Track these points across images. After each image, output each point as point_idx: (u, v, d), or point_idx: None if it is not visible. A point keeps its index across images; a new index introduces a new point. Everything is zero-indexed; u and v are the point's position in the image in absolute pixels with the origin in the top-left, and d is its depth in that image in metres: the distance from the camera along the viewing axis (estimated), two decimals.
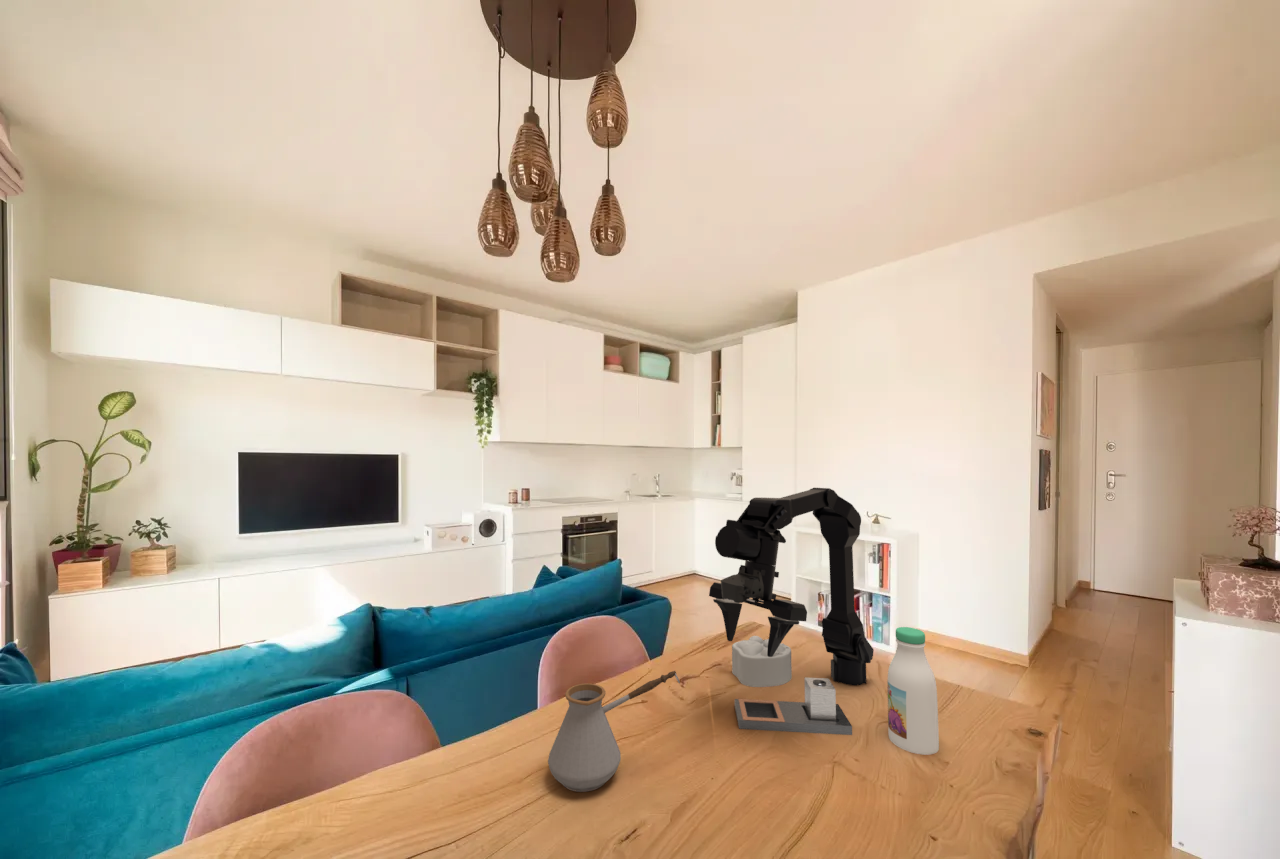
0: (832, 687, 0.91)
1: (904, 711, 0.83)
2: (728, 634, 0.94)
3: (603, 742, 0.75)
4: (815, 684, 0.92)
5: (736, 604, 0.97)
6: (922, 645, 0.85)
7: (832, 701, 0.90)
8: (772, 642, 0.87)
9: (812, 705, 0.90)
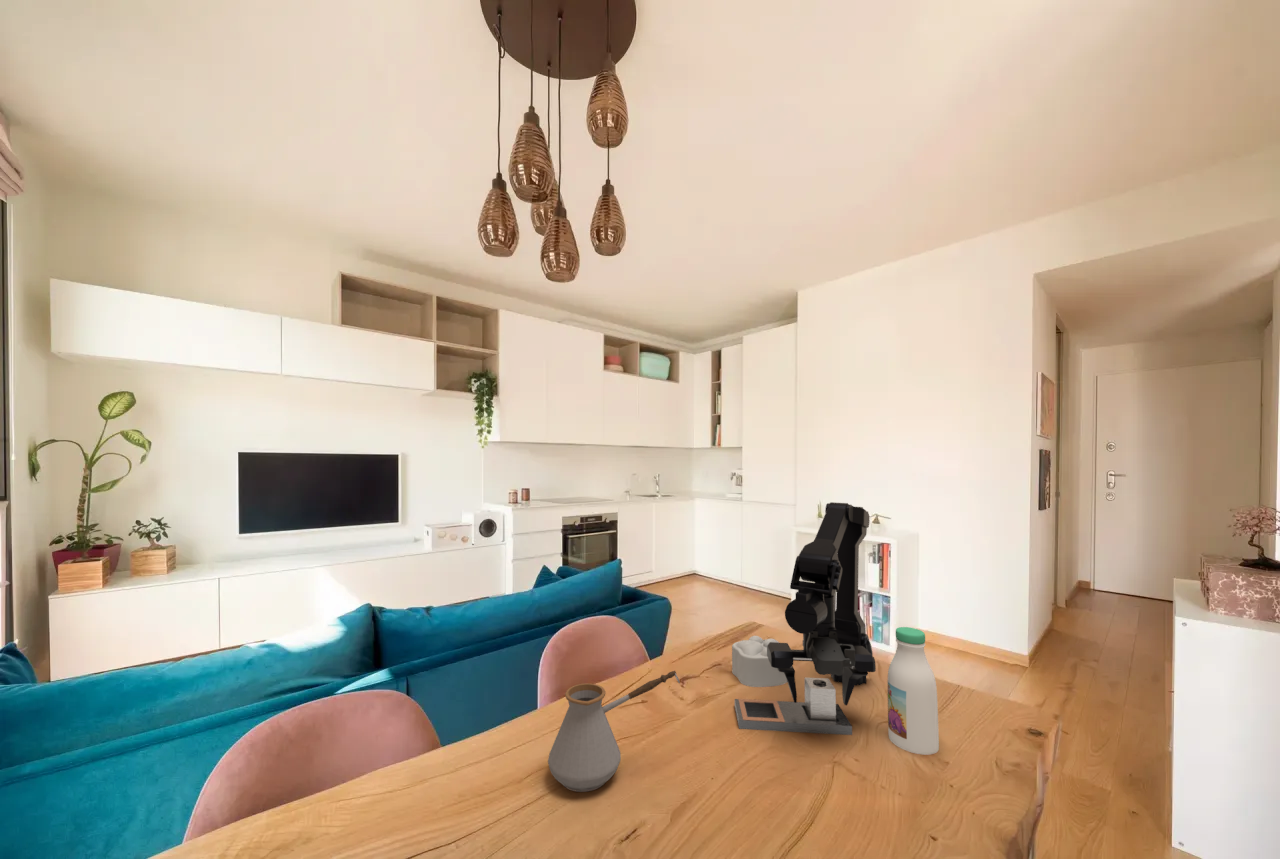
0: (832, 687, 0.91)
1: (904, 711, 0.83)
2: (795, 697, 0.92)
3: (603, 742, 0.75)
4: (815, 684, 0.92)
5: None
6: (922, 645, 0.85)
7: (832, 701, 0.90)
8: (851, 692, 0.91)
9: (812, 705, 0.90)
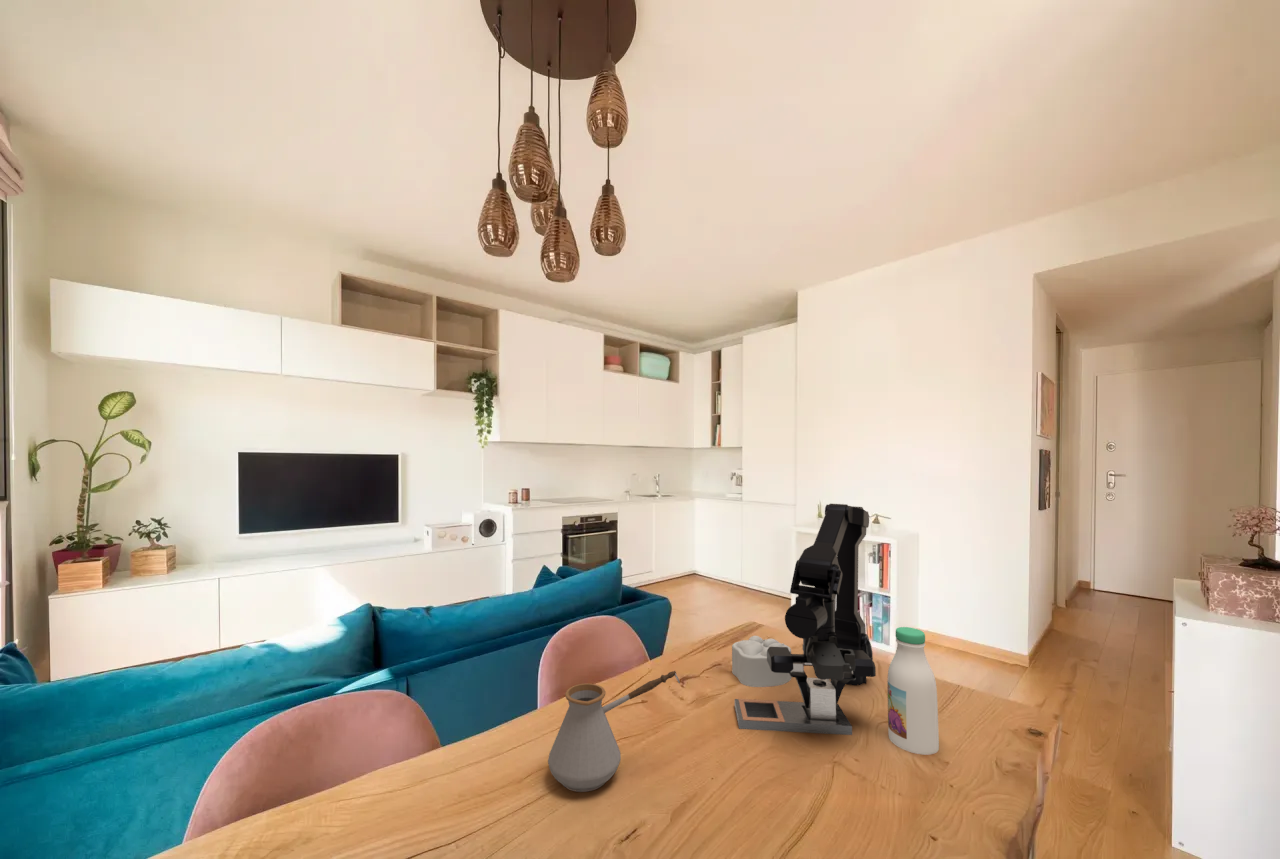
0: (832, 687, 0.91)
1: (904, 711, 0.83)
2: (807, 702, 0.92)
3: (603, 742, 0.75)
4: (815, 684, 0.92)
5: None
6: (922, 645, 0.85)
7: (832, 701, 0.90)
8: (839, 696, 0.91)
9: (812, 705, 0.90)
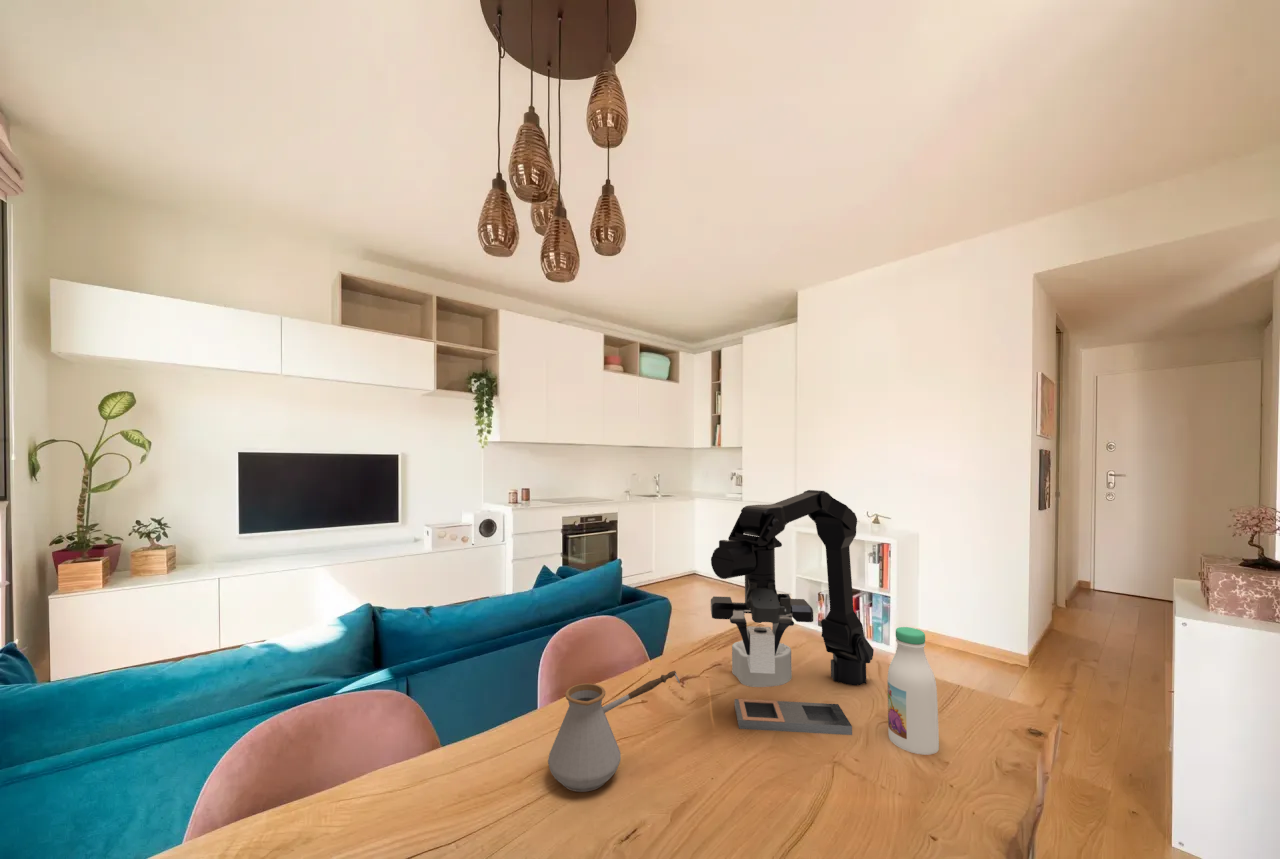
0: (772, 634, 0.92)
1: (904, 711, 0.83)
2: (748, 648, 0.93)
3: (603, 742, 0.75)
4: (755, 631, 0.93)
5: None
6: (922, 645, 0.85)
7: (771, 647, 0.91)
8: (778, 642, 0.93)
9: (752, 651, 0.92)
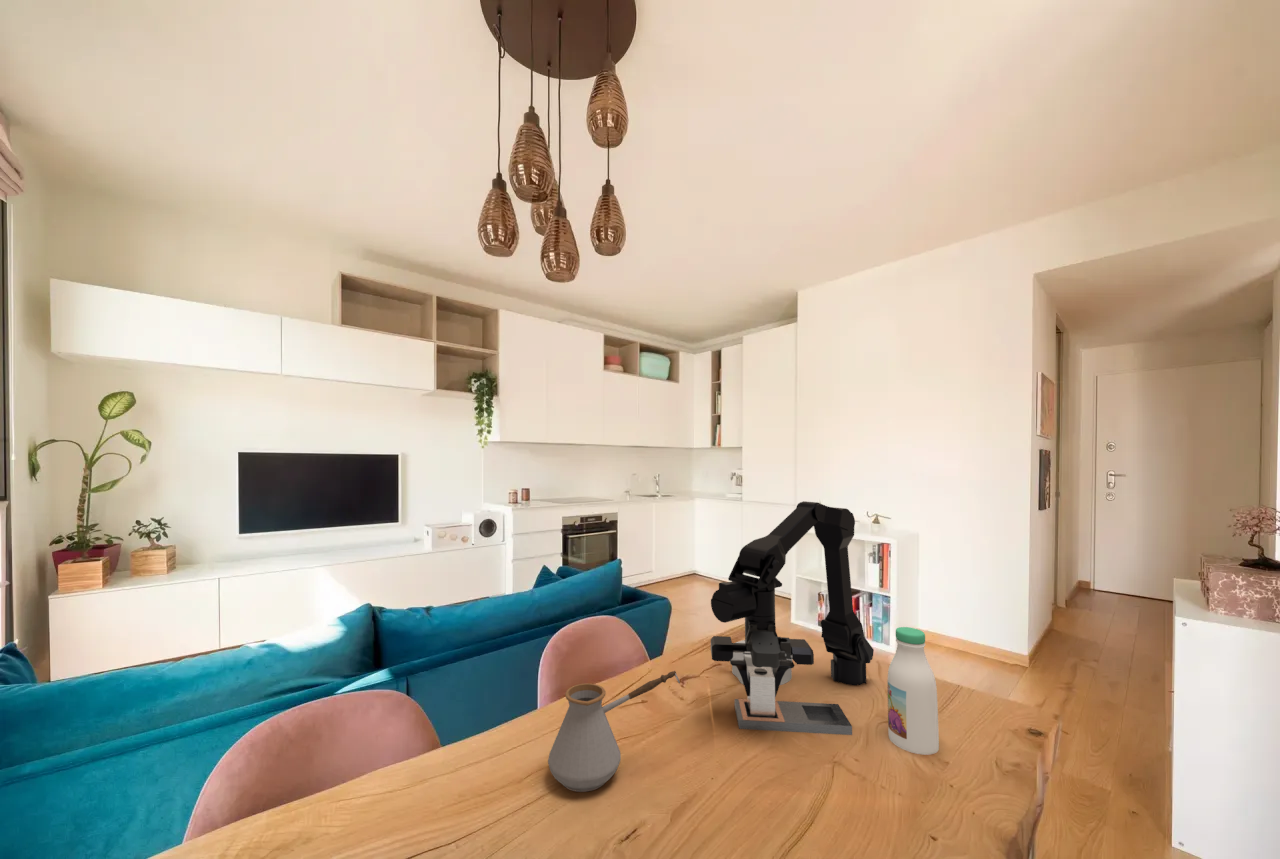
0: (772, 676, 0.92)
1: (904, 711, 0.83)
2: (748, 690, 0.93)
3: (603, 742, 0.75)
4: (755, 673, 0.93)
5: None
6: (922, 645, 0.85)
7: (771, 689, 0.91)
8: (779, 684, 0.92)
9: (752, 694, 0.91)
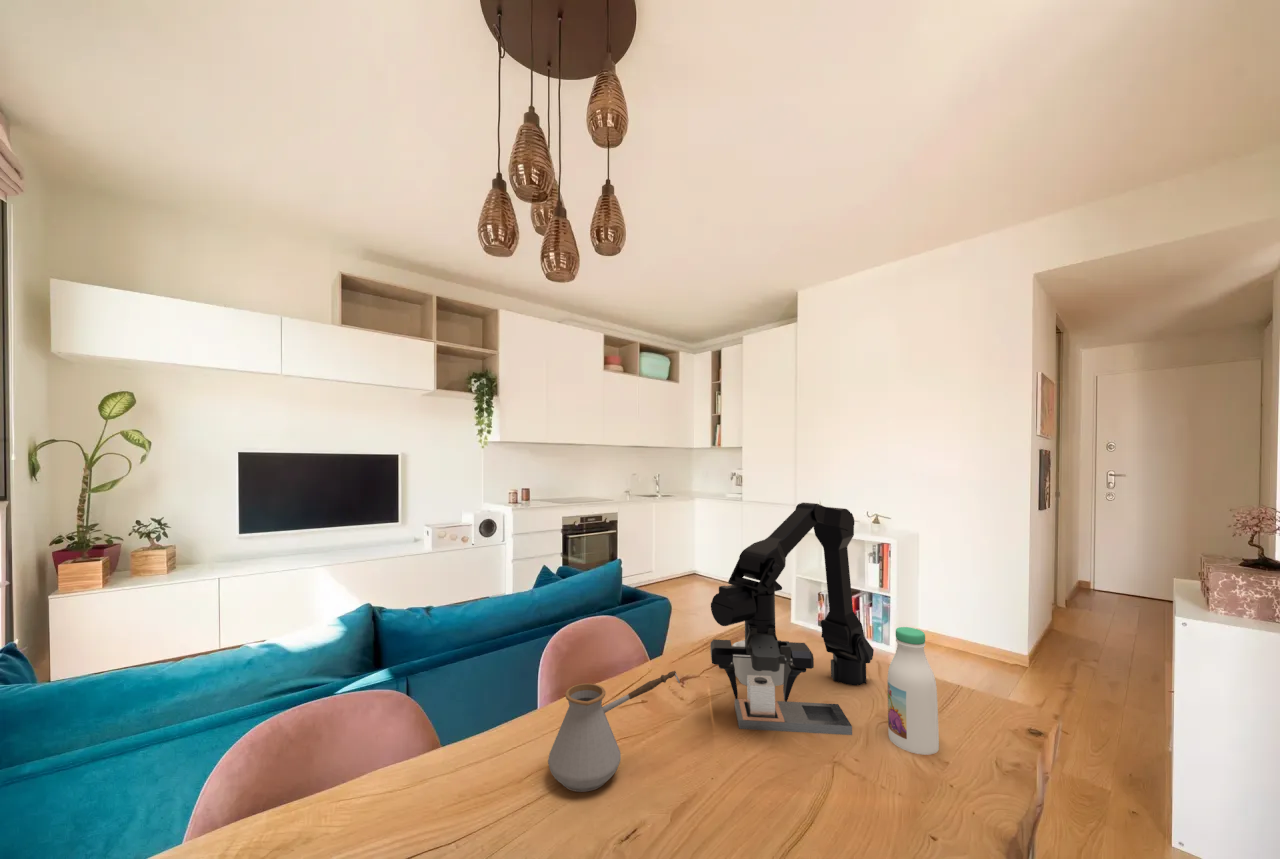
0: (772, 685, 0.92)
1: (904, 711, 0.83)
2: (736, 693, 0.93)
3: (603, 742, 0.75)
4: (755, 681, 0.93)
5: None
6: (922, 645, 0.85)
7: (771, 698, 0.91)
8: (790, 688, 0.92)
9: (752, 703, 0.91)
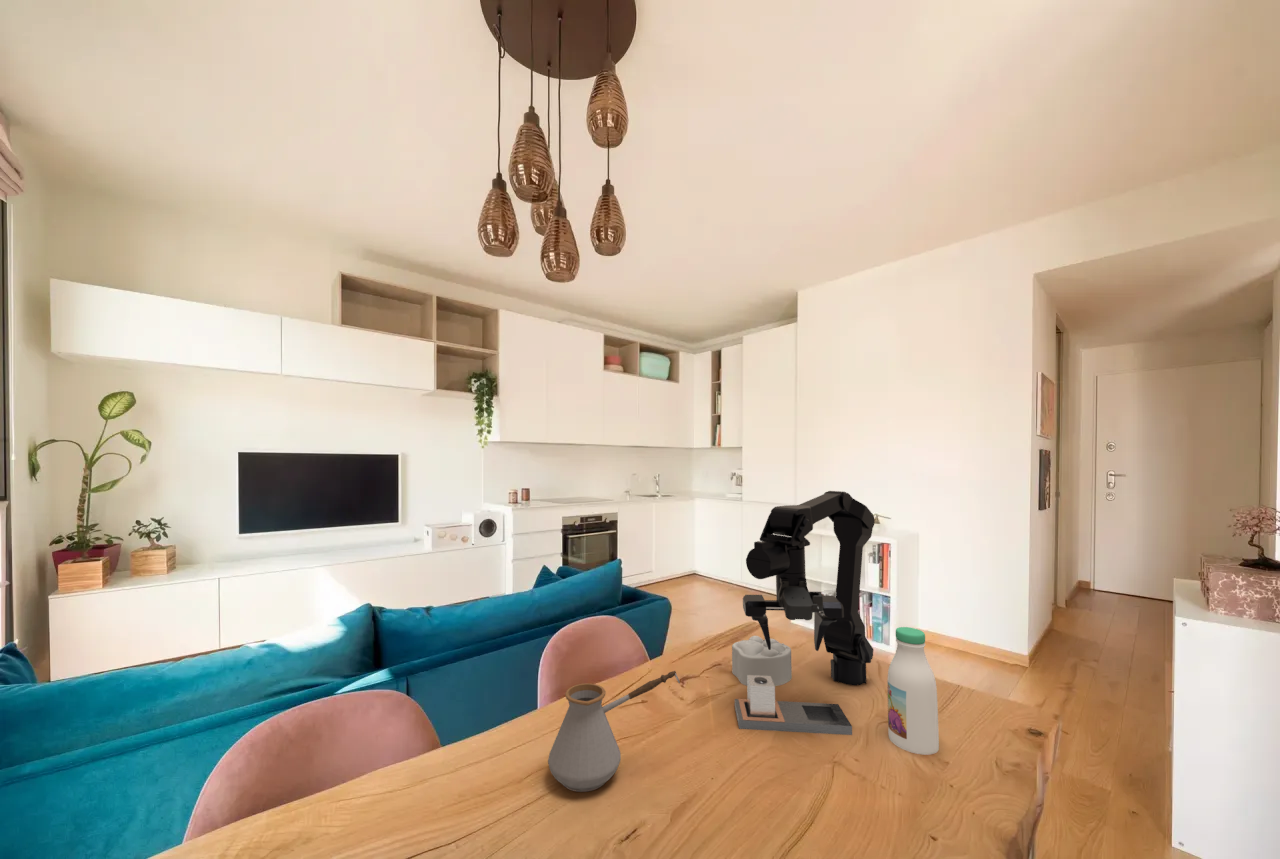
0: (772, 685, 0.92)
1: (904, 711, 0.83)
2: (769, 644, 0.97)
3: (603, 742, 0.75)
4: (755, 681, 0.93)
5: None
6: (922, 645, 0.85)
7: (771, 698, 0.91)
8: (821, 638, 0.96)
9: (752, 703, 0.91)
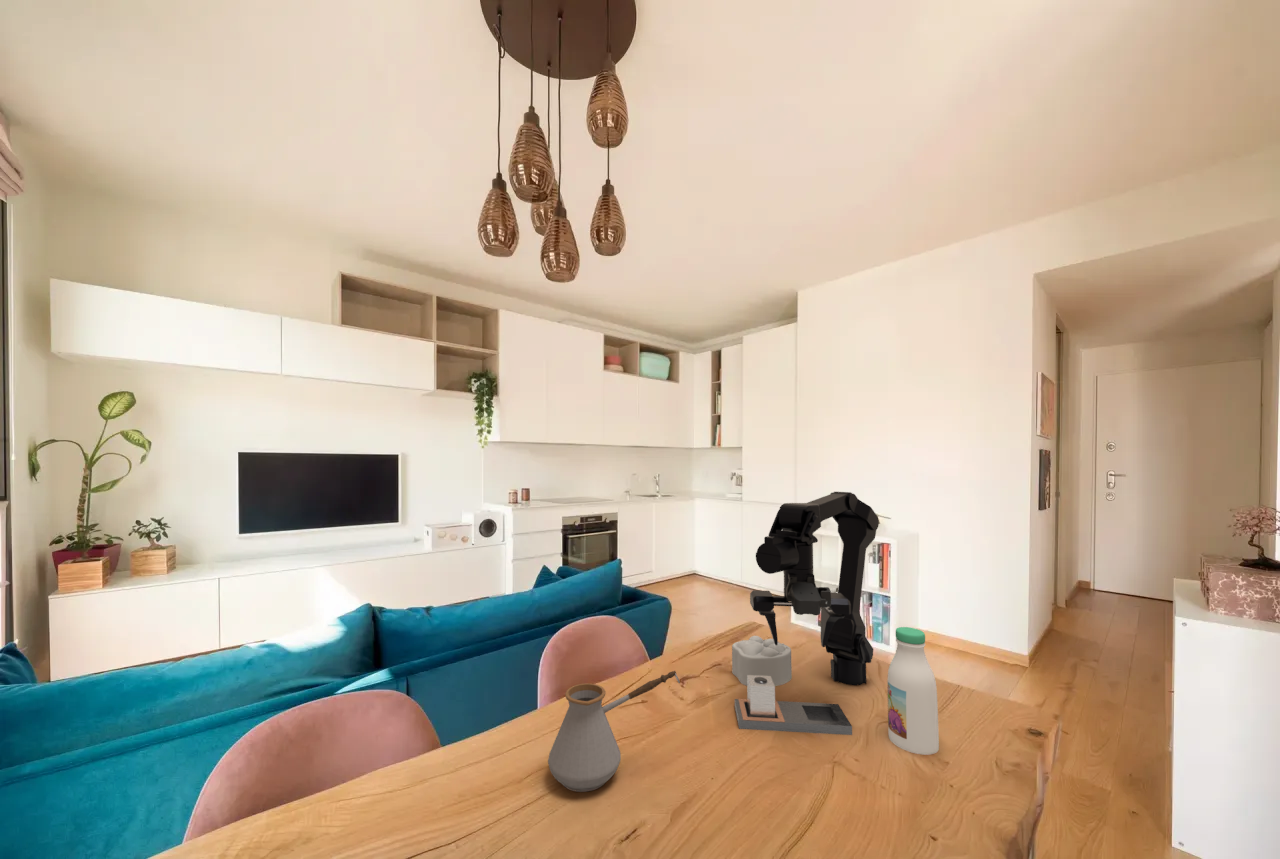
0: (772, 685, 0.92)
1: (904, 711, 0.83)
2: (776, 639, 0.98)
3: (603, 742, 0.75)
4: (755, 681, 0.93)
5: None
6: (922, 645, 0.85)
7: (771, 698, 0.91)
8: (828, 634, 0.97)
9: (752, 703, 0.91)
